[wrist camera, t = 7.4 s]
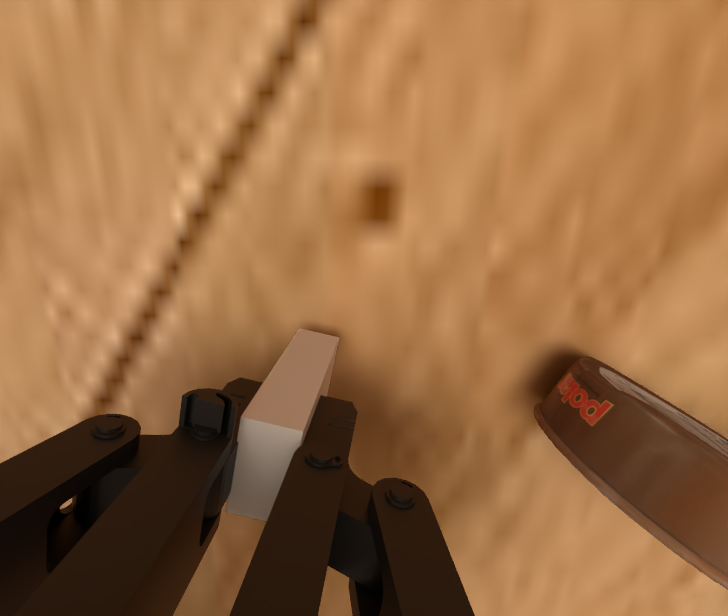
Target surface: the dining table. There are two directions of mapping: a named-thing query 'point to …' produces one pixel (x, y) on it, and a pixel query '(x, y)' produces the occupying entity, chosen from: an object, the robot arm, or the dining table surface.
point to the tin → (645, 459)
